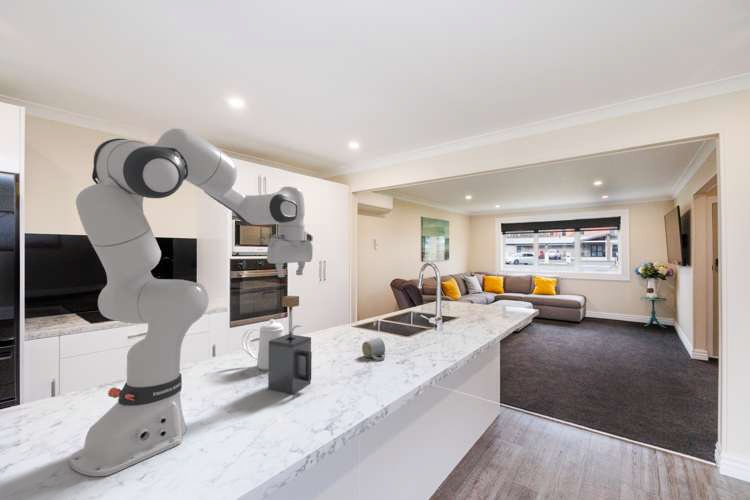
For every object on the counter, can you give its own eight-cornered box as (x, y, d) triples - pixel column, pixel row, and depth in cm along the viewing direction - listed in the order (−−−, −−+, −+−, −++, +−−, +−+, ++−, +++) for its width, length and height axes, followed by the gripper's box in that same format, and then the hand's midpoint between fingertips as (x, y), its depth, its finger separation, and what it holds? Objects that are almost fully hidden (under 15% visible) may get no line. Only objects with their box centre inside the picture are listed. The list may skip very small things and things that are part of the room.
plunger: (291, 356, 110) (292, 298, 110) (275, 353, 112) (276, 297, 113) (304, 351, 116) (304, 296, 116) (288, 348, 119) (289, 294, 119)
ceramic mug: (360, 355, 148) (361, 338, 148) (375, 352, 153) (376, 336, 153) (374, 362, 140) (374, 344, 140) (389, 359, 145) (390, 341, 144)
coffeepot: (298, 372, 127) (298, 323, 127) (235, 369, 130) (236, 321, 130) (307, 363, 138) (307, 317, 138) (249, 360, 140) (249, 316, 141)
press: (300, 396, 106) (301, 345, 106) (268, 389, 112) (268, 340, 112) (318, 385, 115) (318, 338, 115) (287, 379, 121) (288, 334, 121)
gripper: (277, 234, 104) (277, 278, 104) (315, 236, 122) (315, 274, 122) (262, 234, 106) (261, 277, 106) (301, 237, 125) (301, 273, 125)
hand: (290, 276), depth 114 cm, fingers open, 8 cm apart
